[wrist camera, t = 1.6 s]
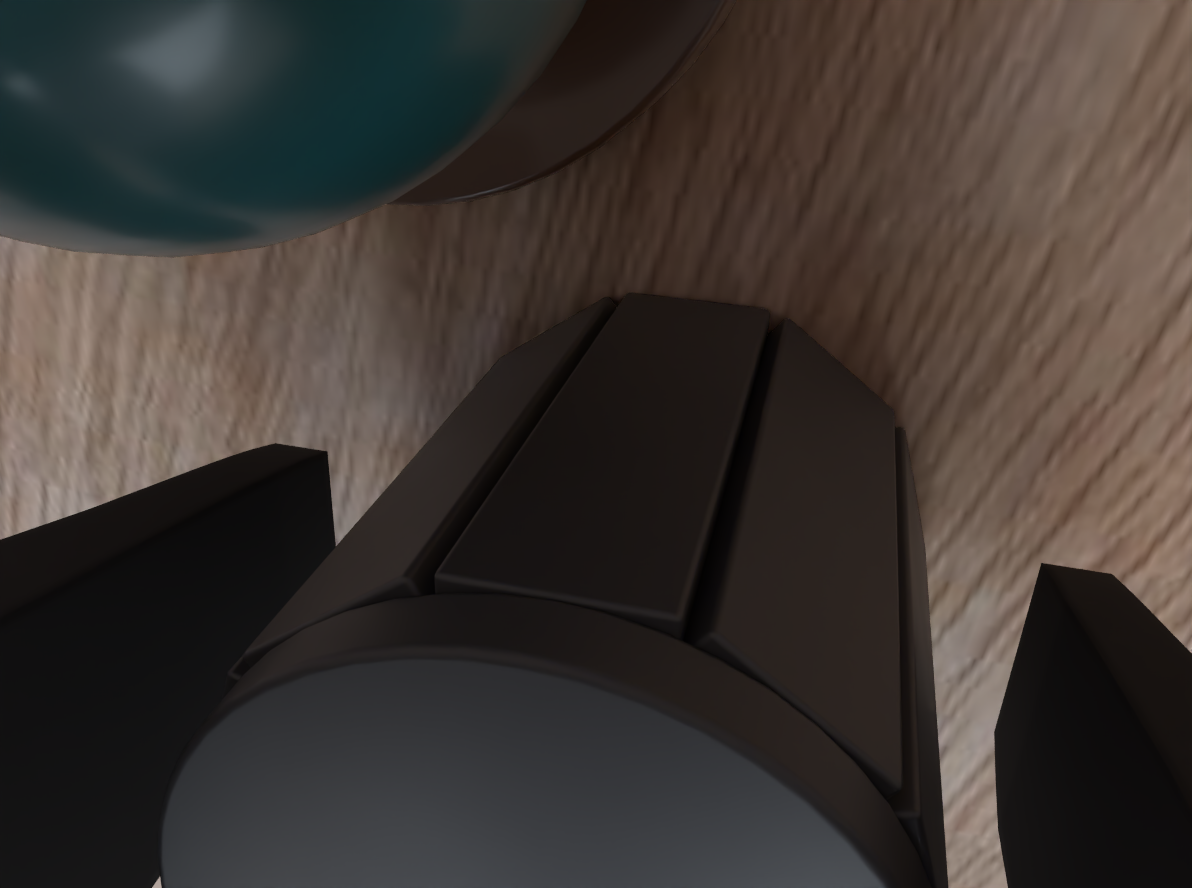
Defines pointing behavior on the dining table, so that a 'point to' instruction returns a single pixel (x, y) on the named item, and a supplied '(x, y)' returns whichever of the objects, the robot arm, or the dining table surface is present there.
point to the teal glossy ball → (308, 109)
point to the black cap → (600, 641)
